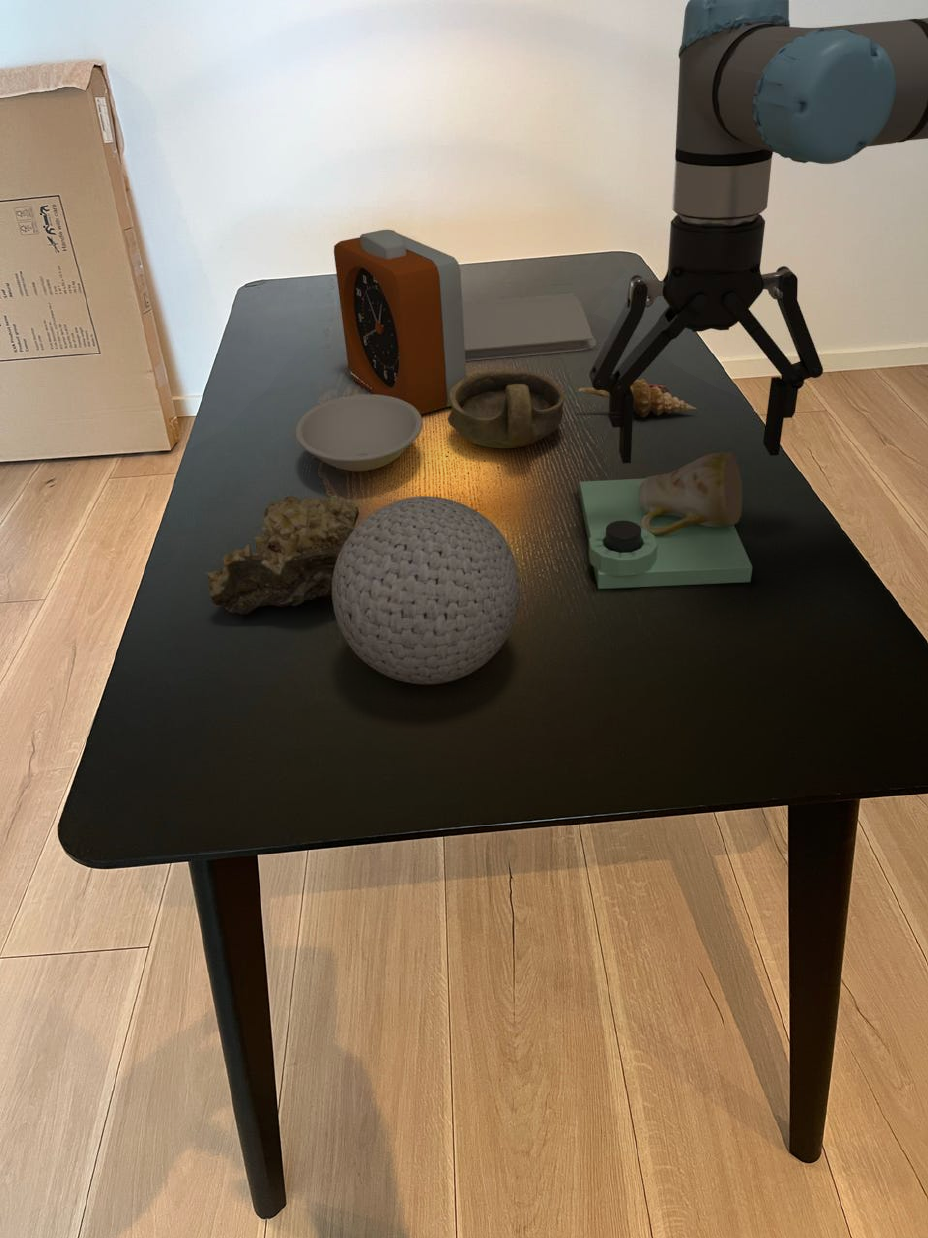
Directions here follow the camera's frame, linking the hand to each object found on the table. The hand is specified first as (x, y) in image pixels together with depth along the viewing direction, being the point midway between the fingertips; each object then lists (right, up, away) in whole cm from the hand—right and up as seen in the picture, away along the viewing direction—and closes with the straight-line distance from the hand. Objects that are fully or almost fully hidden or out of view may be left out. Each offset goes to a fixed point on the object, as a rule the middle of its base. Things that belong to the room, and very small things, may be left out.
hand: (697, 453), depth 91 cm
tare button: (-7, -9, -1) cm, 11 cm away
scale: (-3, -7, +6) cm, 9 cm away
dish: (-34, +2, +22) cm, 40 cm away
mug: (0, -6, +5) cm, 8 cm away
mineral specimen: (-37, -13, +2) cm, 40 cm away
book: (-15, +26, +53) cm, 61 cm away
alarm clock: (-30, +15, +39) cm, 51 cm away
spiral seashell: (-1, +10, +29) cm, 31 cm away
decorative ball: (-24, -20, -9) cm, 33 cm away
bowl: (-17, +5, +24) cm, 30 cm away
